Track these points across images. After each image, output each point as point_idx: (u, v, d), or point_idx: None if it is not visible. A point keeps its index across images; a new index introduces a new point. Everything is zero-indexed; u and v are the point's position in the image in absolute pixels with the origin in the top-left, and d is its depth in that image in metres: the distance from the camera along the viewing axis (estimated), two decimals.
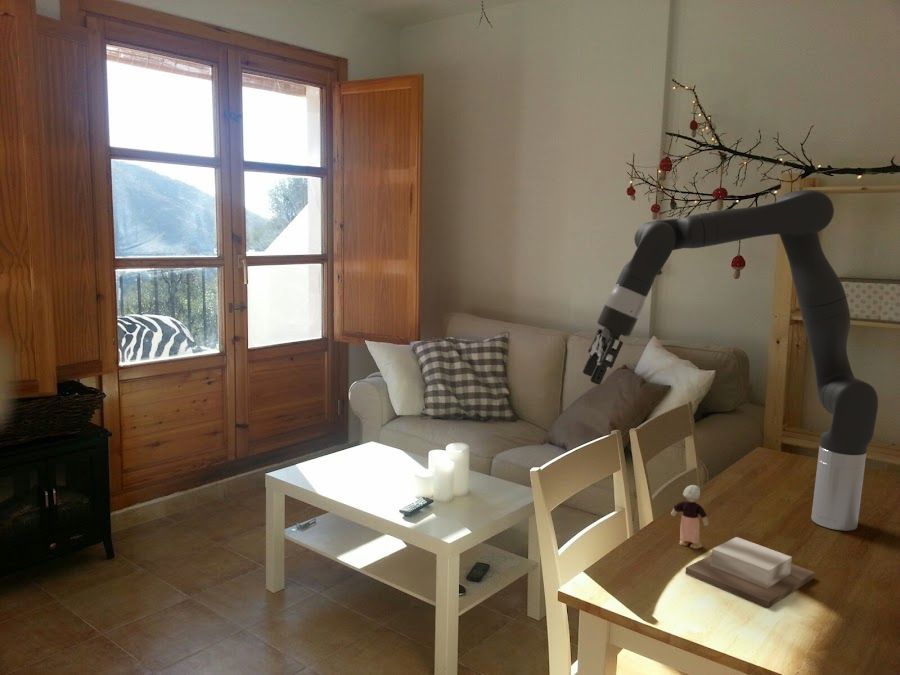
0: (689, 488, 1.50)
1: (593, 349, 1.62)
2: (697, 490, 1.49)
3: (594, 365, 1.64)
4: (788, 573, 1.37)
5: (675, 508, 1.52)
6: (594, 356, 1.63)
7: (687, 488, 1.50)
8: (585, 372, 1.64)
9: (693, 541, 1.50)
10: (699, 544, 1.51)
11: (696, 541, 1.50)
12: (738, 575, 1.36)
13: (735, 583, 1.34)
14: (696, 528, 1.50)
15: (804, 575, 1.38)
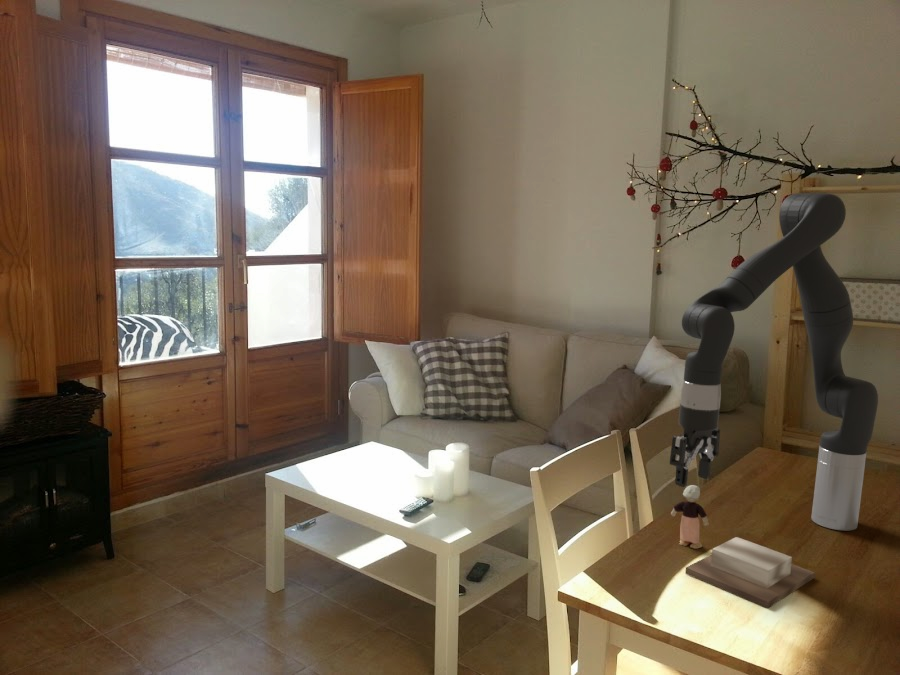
0: (689, 488, 1.50)
1: None
2: (697, 490, 1.49)
3: (706, 466, 1.52)
4: (788, 573, 1.37)
5: (675, 508, 1.52)
6: (704, 457, 1.52)
7: (687, 488, 1.50)
8: (700, 475, 1.53)
9: (693, 541, 1.50)
10: (699, 544, 1.51)
11: (696, 541, 1.50)
12: (738, 575, 1.36)
13: (735, 583, 1.34)
14: (696, 528, 1.50)
15: (804, 575, 1.38)
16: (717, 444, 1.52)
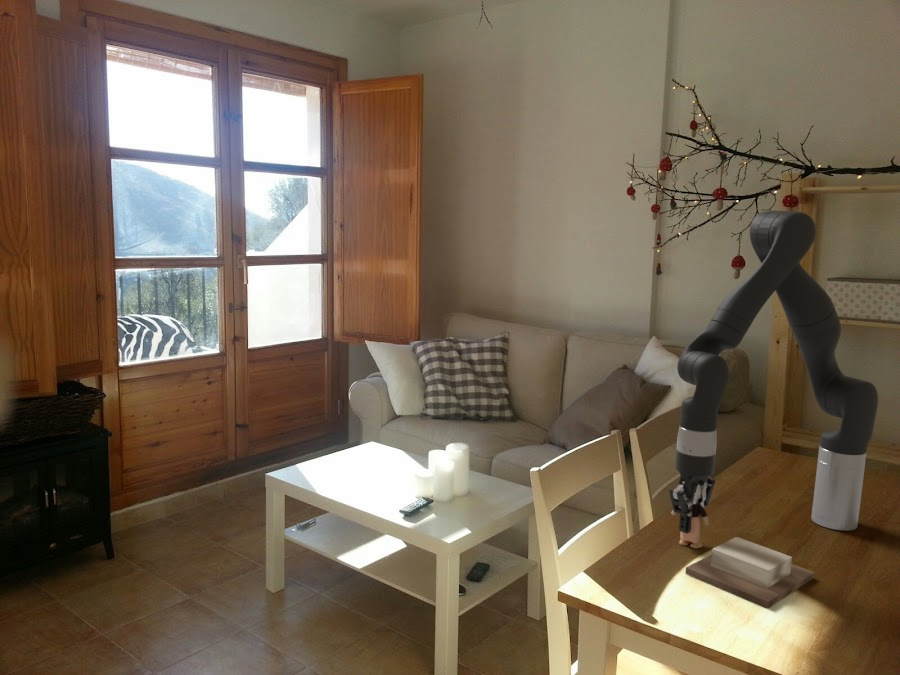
0: None
1: None
2: None
3: None
4: (788, 573, 1.37)
5: None
6: None
7: None
8: None
9: (693, 541, 1.50)
10: (699, 544, 1.51)
11: (696, 541, 1.50)
12: (738, 575, 1.36)
13: (735, 583, 1.34)
14: (696, 527, 1.50)
15: (804, 575, 1.38)
16: (709, 495, 1.53)
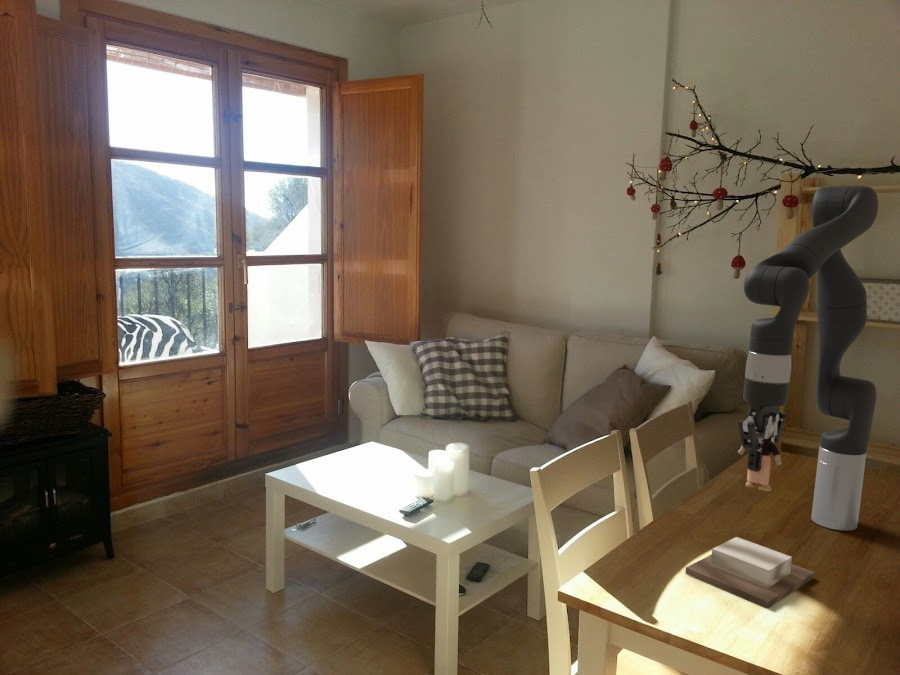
0: None
1: (757, 431, 1.37)
2: (771, 424, 1.34)
3: None
4: (788, 573, 1.37)
5: None
6: None
7: None
8: None
9: (762, 482, 1.35)
10: (768, 487, 1.35)
11: (765, 482, 1.34)
12: (738, 575, 1.36)
13: (735, 583, 1.34)
14: (766, 467, 1.34)
15: (804, 575, 1.38)
16: (780, 430, 1.37)
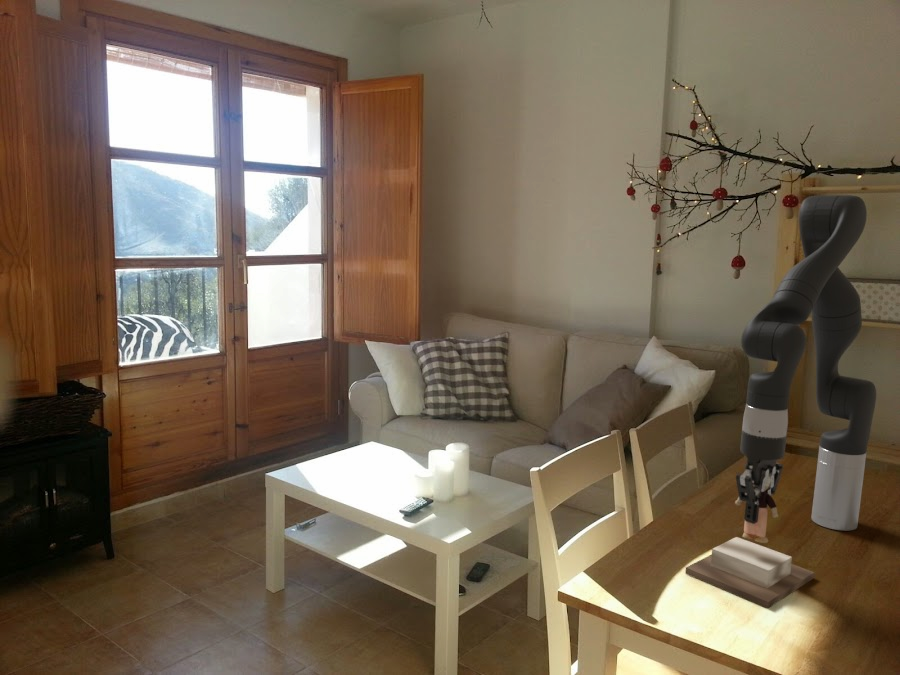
0: None
1: None
2: (768, 477, 1.35)
3: None
4: (788, 573, 1.37)
5: None
6: None
7: None
8: None
9: (759, 534, 1.36)
10: (765, 539, 1.36)
11: (762, 534, 1.36)
12: (738, 575, 1.36)
13: (735, 583, 1.34)
14: (763, 520, 1.36)
15: (804, 575, 1.38)
16: (777, 482, 1.39)
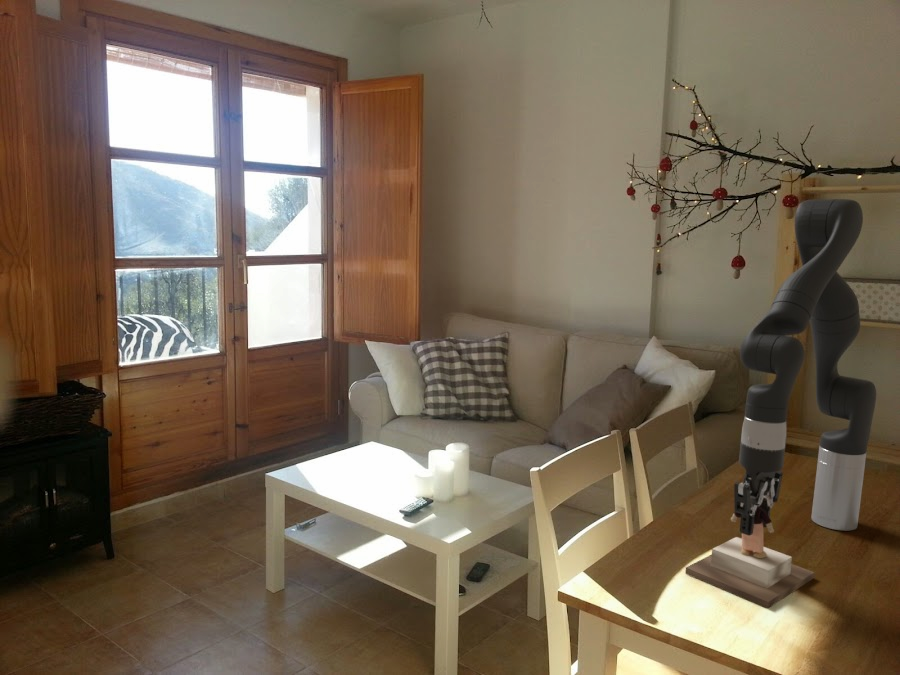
0: None
1: None
2: None
3: None
4: (788, 573, 1.37)
5: (735, 513, 1.38)
6: (762, 503, 1.39)
7: None
8: None
9: (757, 550, 1.36)
10: (763, 553, 1.37)
11: (760, 550, 1.36)
12: (738, 575, 1.36)
13: (735, 583, 1.34)
14: (759, 535, 1.36)
15: (804, 575, 1.38)
16: (778, 489, 1.40)
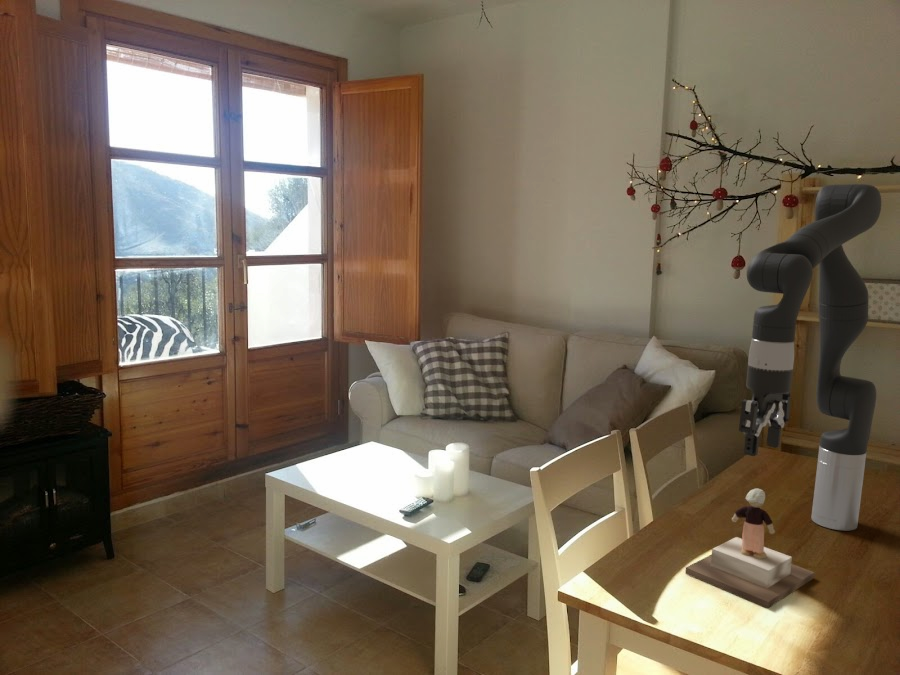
0: (753, 492, 1.36)
1: None
2: (762, 494, 1.35)
3: (776, 434, 1.38)
4: (788, 573, 1.37)
5: (737, 513, 1.38)
6: (773, 423, 1.38)
7: (751, 492, 1.36)
8: (769, 444, 1.39)
9: (757, 550, 1.36)
10: (763, 554, 1.37)
11: (760, 551, 1.36)
12: (738, 575, 1.36)
13: (735, 583, 1.34)
14: (760, 536, 1.36)
15: (804, 575, 1.38)
16: (788, 410, 1.38)
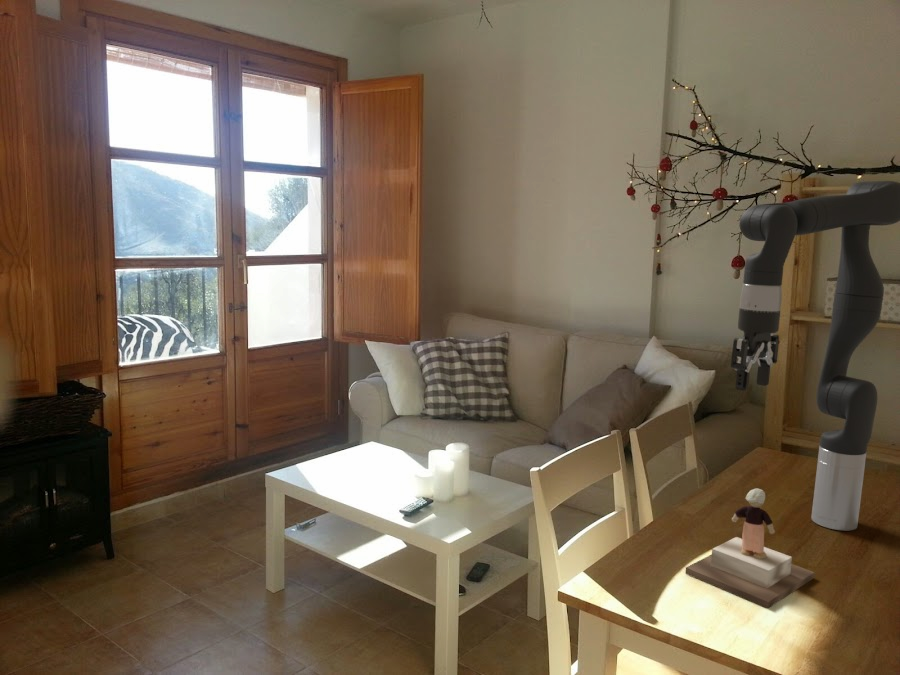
0: (753, 492, 1.36)
1: None
2: (762, 494, 1.35)
3: (765, 373, 1.50)
4: (788, 573, 1.37)
5: (737, 513, 1.38)
6: (763, 363, 1.51)
7: (751, 492, 1.36)
8: (759, 382, 1.51)
9: (757, 550, 1.36)
10: (763, 554, 1.37)
11: (760, 551, 1.36)
12: (738, 575, 1.36)
13: (735, 583, 1.34)
14: (760, 536, 1.36)
15: (804, 575, 1.38)
16: (776, 351, 1.51)
